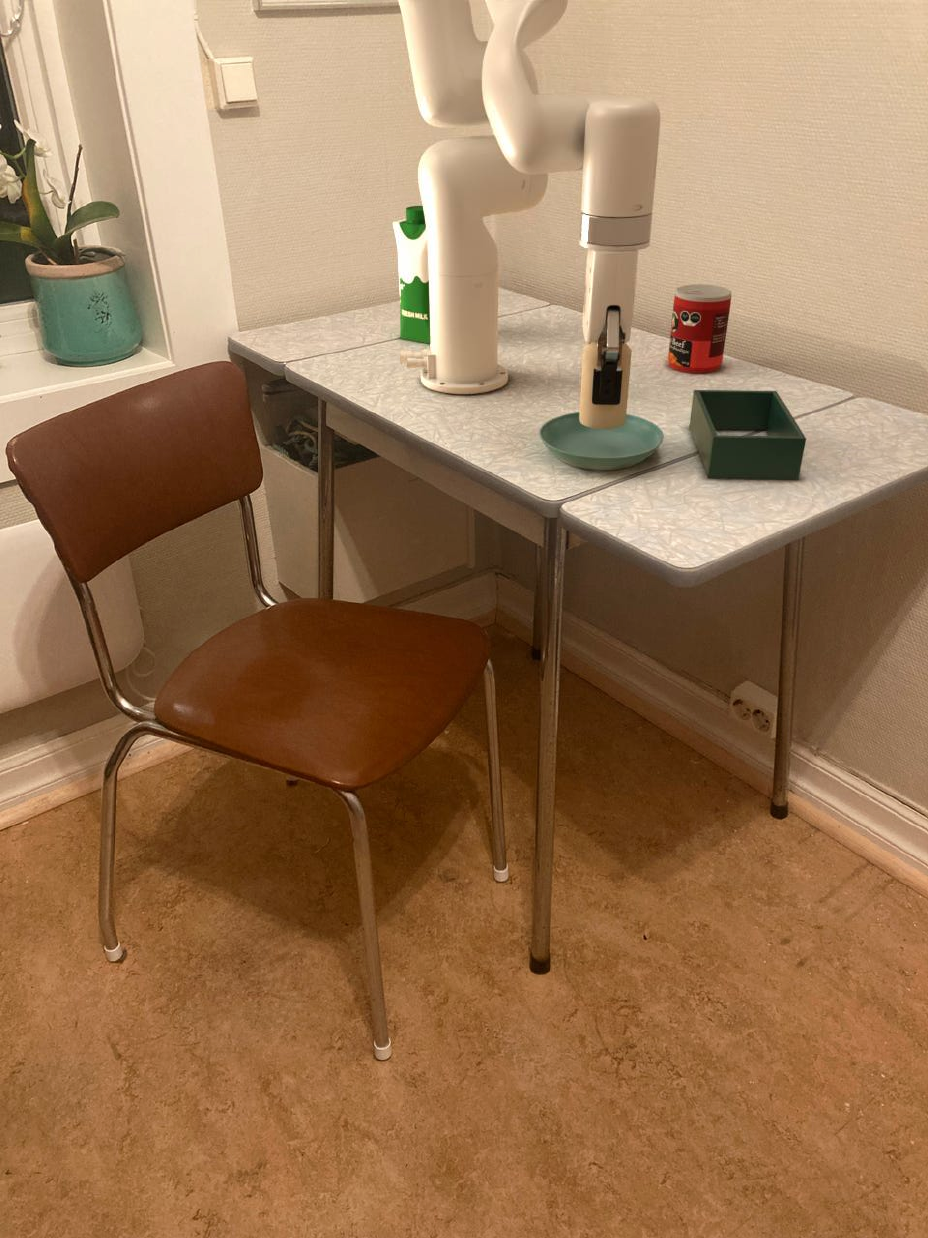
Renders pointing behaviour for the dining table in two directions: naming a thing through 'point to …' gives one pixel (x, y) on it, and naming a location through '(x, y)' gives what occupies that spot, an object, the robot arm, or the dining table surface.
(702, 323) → the canned food
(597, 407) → the candle
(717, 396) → the case
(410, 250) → the milk carton
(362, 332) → the dining table surface
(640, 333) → the dining table surface
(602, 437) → the saucer
